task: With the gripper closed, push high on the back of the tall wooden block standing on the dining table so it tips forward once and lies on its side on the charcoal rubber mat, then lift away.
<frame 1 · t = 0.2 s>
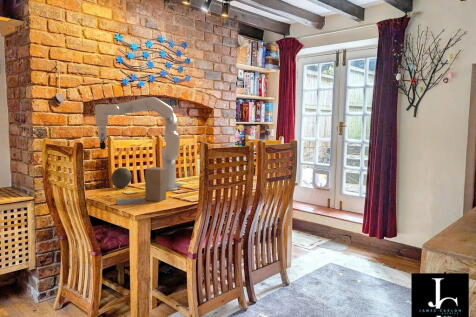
hand: (102, 148, 240), 31 cm above the table, tool pointing down, fingers open, 9 cm apart
teacup with lid: (156, 184, 282), on the table
dark grey ball: (121, 188, 265), on the table
wooden block: (155, 199, 227), on the table, touching mat
mat: (131, 201, 221), on the table
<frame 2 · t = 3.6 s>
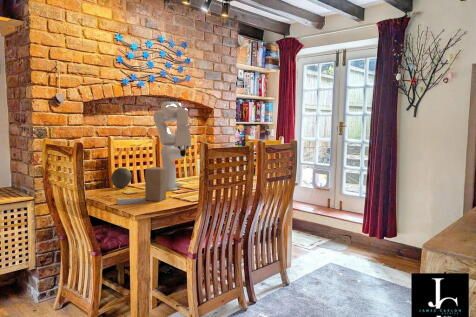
hand: (183, 156, 231), 27 cm above the table, tool pointing down, fingers closed
nothing on the table moved.
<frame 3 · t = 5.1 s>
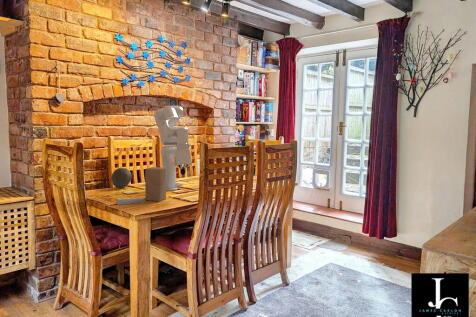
hand: (183, 174, 232), 15 cm above the table, tool pointing down, fingers closed
nothing on the table moved.
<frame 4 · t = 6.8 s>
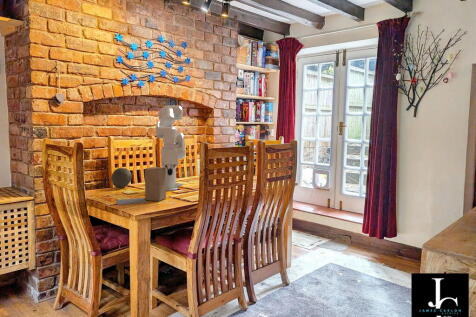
hand: (170, 175, 228), 15 cm above the table, tool pointing down, fingers closed
wooden block: (155, 199, 227), on the table, touching gripper, mat
everything else where it was.
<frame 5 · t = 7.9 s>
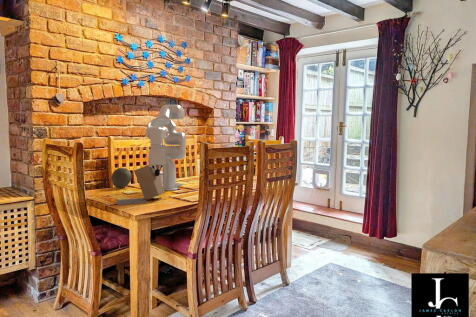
hand: (157, 175, 225), 15 cm above the table, tool pointing down, fingers closed
wooden block: (155, 196, 227), point 2 cm above the table, touching mat
everything else where it was.
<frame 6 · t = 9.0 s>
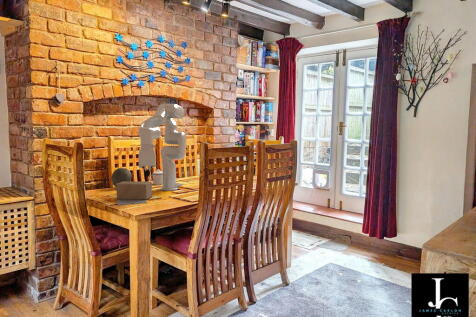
hand: (147, 176, 223), 15 cm above the table, tool pointing down, fingers closed
wooden block: (149, 190, 229), point 5 cm above the table, touching mat
everything else where it was.
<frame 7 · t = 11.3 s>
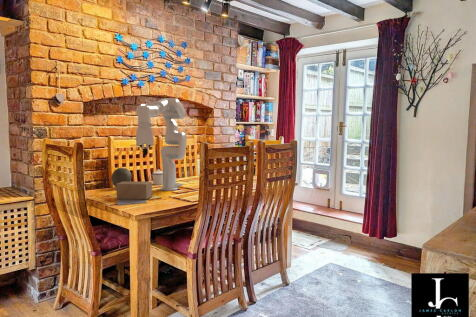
hand: (145, 155, 222), 29 cm above the table, tool pointing down, fingers closed
nothing on the table moved.
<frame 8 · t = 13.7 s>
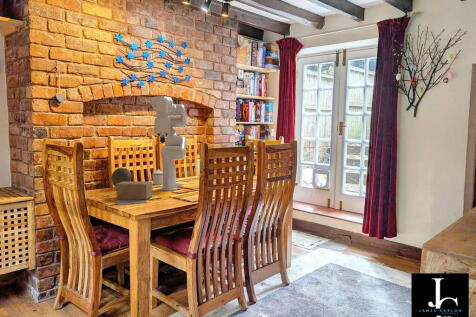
hand: (162, 143, 236), 35 cm above the table, tool pointing down, fingers closed
nothing on the table moved.
at the end: wooden block tilted 91°; wooden block inside the target area (6.2 cm from its centre), point 5.4 cm above the table; wooden block touching mat, table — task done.
